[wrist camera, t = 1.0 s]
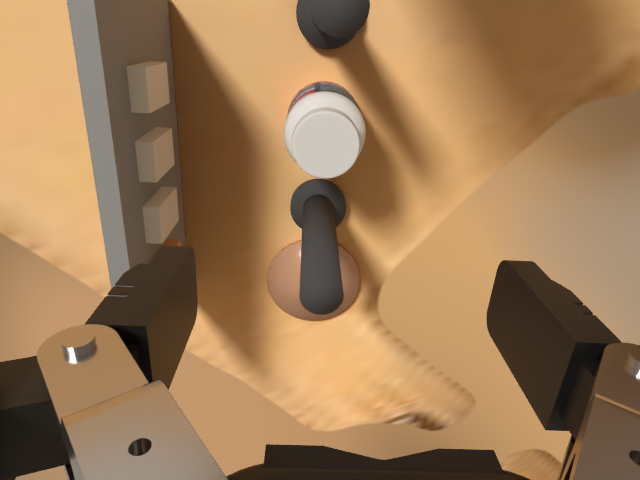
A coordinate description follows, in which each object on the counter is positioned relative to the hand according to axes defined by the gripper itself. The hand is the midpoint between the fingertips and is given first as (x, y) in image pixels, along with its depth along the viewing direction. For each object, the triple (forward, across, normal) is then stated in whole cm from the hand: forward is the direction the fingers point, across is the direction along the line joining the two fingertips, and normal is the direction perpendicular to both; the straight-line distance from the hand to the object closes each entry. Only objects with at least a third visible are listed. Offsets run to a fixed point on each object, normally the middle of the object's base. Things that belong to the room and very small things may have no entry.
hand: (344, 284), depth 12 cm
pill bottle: (+25, 0, 0) cm, 25 cm away
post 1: (+25, 0, -7) cm, 26 cm away
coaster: (+25, 0, +14) cm, 29 cm away
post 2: (+25, 0, +7) cm, 26 cm away
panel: (+25, +12, +3) cm, 28 cm away
